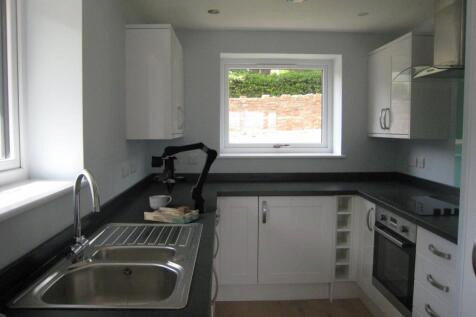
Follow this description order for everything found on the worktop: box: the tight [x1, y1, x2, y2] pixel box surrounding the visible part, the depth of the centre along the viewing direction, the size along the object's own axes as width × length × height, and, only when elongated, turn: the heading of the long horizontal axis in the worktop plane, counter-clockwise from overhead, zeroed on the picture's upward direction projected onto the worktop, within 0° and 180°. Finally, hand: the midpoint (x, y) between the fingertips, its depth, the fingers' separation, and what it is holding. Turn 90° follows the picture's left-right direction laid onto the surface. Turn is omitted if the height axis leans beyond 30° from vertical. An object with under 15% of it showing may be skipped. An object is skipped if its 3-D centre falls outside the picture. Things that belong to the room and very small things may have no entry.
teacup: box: [149, 194, 172, 210], centre depth 236 cm, size 14×11×8 cm
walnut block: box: [177, 205, 190, 215], centre depth 209 cm, size 4×4×4 cm
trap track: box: [143, 207, 200, 225], centre depth 209 cm, size 15×26×4 cm, turn 66°
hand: (169, 193), depth 220 cm, fingers closed
